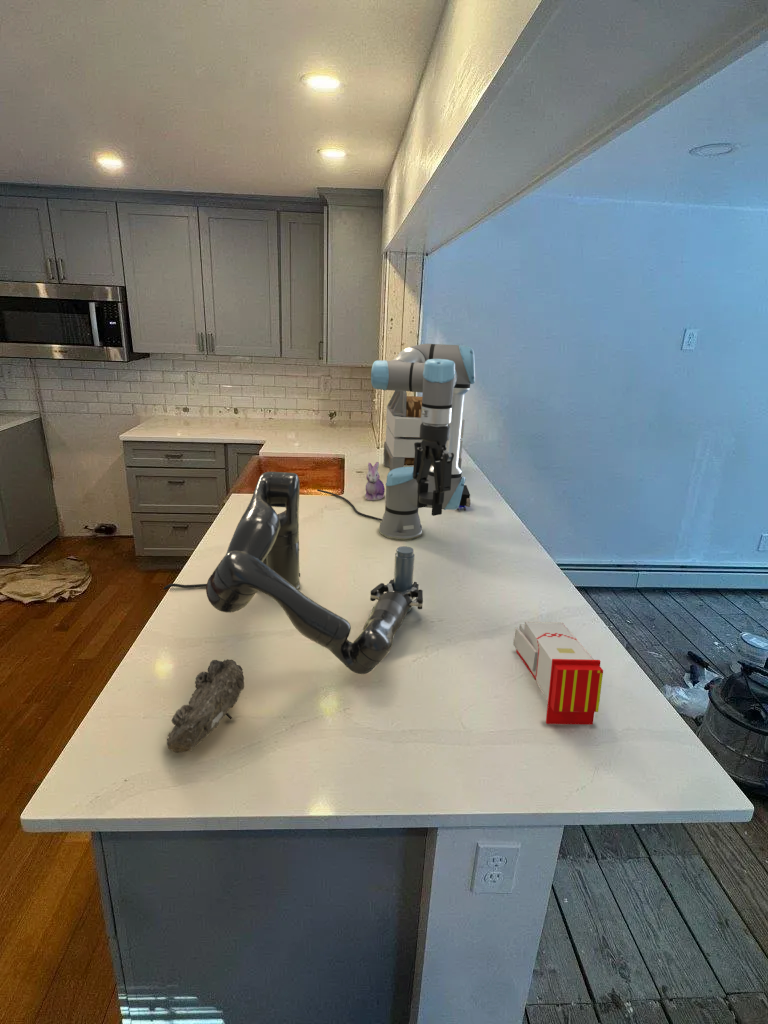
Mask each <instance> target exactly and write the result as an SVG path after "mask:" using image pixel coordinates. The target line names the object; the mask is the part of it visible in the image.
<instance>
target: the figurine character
mask: <svg viewBox="0 0 768 1024" xmlns="http://www.w3.org/2000/svg"><path fill="white" fill-rule="evenodd" d="M466 507H468V508H470V507H471V493H470V491H469V488H468V486H467V485H466V484H464V487H463V492H462V496H461V500H460V505H459V507H458V508H457V509H456V510H457V511H459V510H460V509H463V511H465V512H466V511H467V508H466Z"/></svg>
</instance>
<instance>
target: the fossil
mask: <svg viewBox="0 0 768 1024" xmlns="http://www.w3.org/2000/svg"><path fill="white" fill-rule="evenodd" d="M243 670H244V669H243V667H242V665H240V664H237V662H236V661H235V660H234V659H232V658H231V659H227V658H226V659H224V660H223V661H222V660H217V659H212V660H211V661H210V663H209V665H208V666H207V671H201V672H199V673H198V674H197V675H196V676H195V680H194V684H195V685H194V687H195V689H194V690H193V693H192V694H191V697H190V698H189V700H188V704H184V705H182V706H181V707H180V709H177V710H176V711H175V713H174V715H173V716H172V718H171V723H172V724H173V727H172V730H171V731H170V732H168V734H167V738H166V741H167V742H166V745H167V749H168V750H169V751H173V752H174V753H176V754H178V753H182V752H188V751H189V752H192V751H193V750H195V748H196V747H197V746H199V744H200V743H201V742H203V741H204V740H205V739H206V738H207V737H208V736H209V735H210V734H211V733H212V732H214V730H215V729H217V727H218V726H219V724H220V722H221V721H222V720H223V719H224V718H225V716H226V717H227V719H229V720H233V717H232V715H230V714H229V710H230V709H231V708H234V706H235V704H236V703H237V702H238V699H239V697H240V695H241V693H242V691H243V690H245V689H244V688H245V675H244V671H243Z"/></svg>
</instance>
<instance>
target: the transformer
mask: <svg viewBox="0 0 768 1024" xmlns="http://www.w3.org/2000/svg"><path fill="white" fill-rule="evenodd" d="M407 394H408V393H407V391H394V392H393V394H392V395H391V398H390V400H389V402H388V404H387V405H386V413H385V414H386V415H385V423H386V428H385V438H384V442H383V466H384V467H388V468H389V472H390V471H391V470H393V469H396V468H400V467H405V466H406V467H414V457H415V447H414V443H416V442H422V439H421V438H420V425H421V424H422V423H423V422H421V410H422V396H415V395H414V396H413V395H412V396H411V395H407ZM464 429H465V419H464V418H462V427H461V438H460V449H459V460H458V467H459V468H460V470H461V471H462V461H463V460H462V453H463V442H464V441H463V440H462V439H463V438H464V431H465V430H464Z"/></svg>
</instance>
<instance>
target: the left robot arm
mask: <svg viewBox="0 0 768 1024" xmlns="http://www.w3.org/2000/svg"><path fill="white" fill-rule="evenodd" d="M300 488H301V484H300V478H299V475H298V474H297V473H295V472H286V471H265V472H263V473H261V475H260V476H259V478H258V479H257V482H256V484H255V488H254V491H253V493H252V496H251V499H250V501H249V504H248V506H247V507H246V509H245V511H244V513H243V514H242V515H241V518H240V520H239V521H238V523H237V525H236V528H235V530H234V532H233V534H232V537H231V539H230V542H229V545H228V548H227V550H226V553H225V555H224V556H223V557H222V559H221V560H220V562H219V563H218V565H217V566H216V567H215V569H214V570H213V572H212V573H211V574H210V576H209V578H208V580H207V582H206V583H201V584H200V583H198V584H196V583H195V584H181V583H169V584H166V585H165V586H164V587H163V590H168V589H169V588H173V587H175V588H181V589H182V588H183V589H194V588H205V593H206V597H207V600H208V602H209V604H211V606H212V607H213V608H214V609H216V610H217V611H219V612H222V613H227V614H229V613H236V612H239V611H241V610H242V609H243V608H245V607H246V606H247V605H248V604H250V602H251V600H253V598H254V597H255V596H256V594H257V593H258V592H261V593H262V594H265V595H267V596H269V597H270V598H271V599H273V600H274V601H276V603H278V605H279V606H280V607H281V609H282V610H283V612H284V613H285V614H286V616H287V617H288V619H289V621H290V623H291V624H292V625H293V627H294V628H295V630H297V631H298V632H299V633H300V634H301V635H303V636H304V637H305V638H307V639H309V640H310V641H312V642H314V643H316V644H318V645H320V646H322V647H323V648H325V649H327V650H329V652H331V653H332V655H334V657H335V658H337V659H338V660H339V661H340V662H341V663H342V664H343V665H344V666H345V667H346V668H347V669H348V670H349V671H351V672H353V673H354V674H357V675H358V674H359V675H368V674H369V673H370V672H372V671H373V670H374V669H375V668H376V667H377V666H378V665H379V664H380V663H381V662H382V661H383V660H384V659H385V658H386V657H387V656H388V655H389V653H390V651H391V650H392V647H393V646H394V636H395V634H396V632H397V631H398V629H400V627H401V625H402V623H403V620H405V617H406V615H407V614H408V612H407V611H408V609H409V608H411V609H412V607H415V608H416V607H417V608H416V609H417V610H423V605H424V590H423V589H420V584H419V583H418V582H417V581H413V585H412V587H411V589H407V590H405V591H403V592H398V591H394V590H393V586H394V578H392V579H390V580H389V582H388V583H386V584H385V583H383V582H380V583H378V585H376V586H375V587H374V588H373V589H371V590H370V592H369V593H370V594H369V595H370V596H369V600H370V602H375V601H376V600H377V601H376V603H375V604H374V606H373V607H372V609H371V612H370V615H369V617H368V618H367V620H366V621H365V624H364V626H363V631H362V632H361V633H360V634H359V635H358V636H357V637H356V638H355V640H353V642H352V641H350V640H349V639H348V638H349V636H350V634H351V629H352V628H351V624H350V622H349V621H348V620H347V619H346V618H344V617H342V616H340V615H339V614H337V613H336V612H333V611H331V610H329V609H328V608H326V607H324V606H322V605H321V604H319V603H317V602H316V601H314V600H313V599H311V598H310V597H308V596H307V595H306V594H304V593H303V592H302V591H300V590H299V589H300V586H301V585H300V583H301V582H300V578H301V573H300V523H299V522H300V494H301V493H300V492H301V489H300ZM274 508H285V510H284V511H282V512H279V513H277V511H276V509H274Z"/></svg>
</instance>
